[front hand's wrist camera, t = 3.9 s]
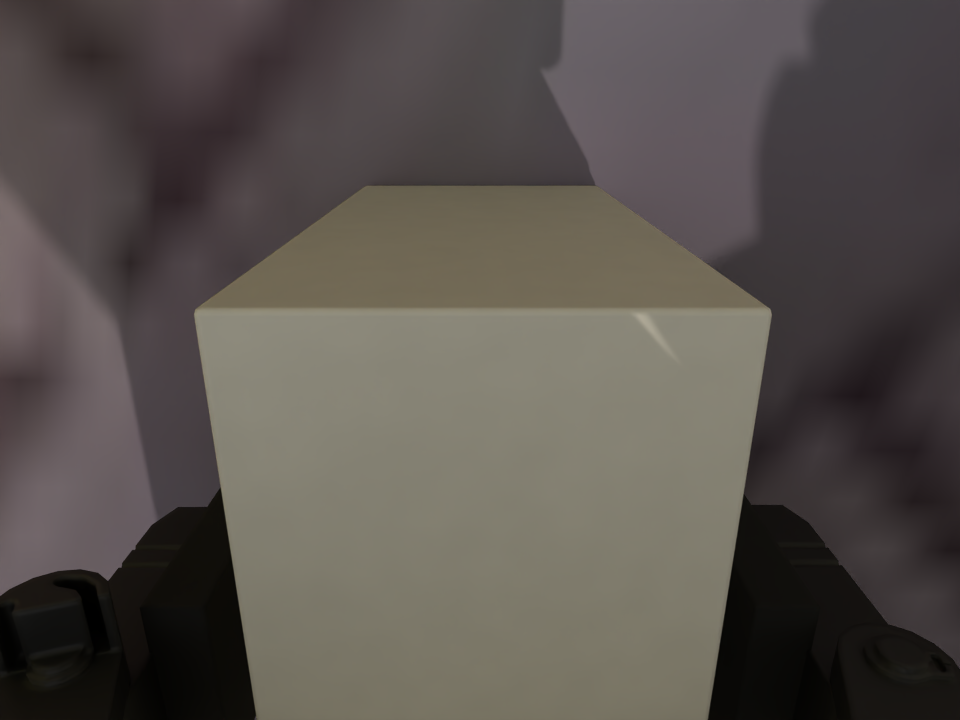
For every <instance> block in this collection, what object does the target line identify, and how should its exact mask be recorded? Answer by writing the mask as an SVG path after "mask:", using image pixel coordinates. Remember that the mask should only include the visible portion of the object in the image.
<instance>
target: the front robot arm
mask: <svg viewBox="0 0 960 720" xmlns="http://www.w3.org/2000/svg"><path fill="white" fill-rule="evenodd" d="M255 716H256V711H255V704H254V698H253V691H252V685H251V678H250V672H249V665H248V659H247V653H246V646H245V640H244V633H243V627H242V620H241V614H240V608H239V601H238V595H237V588H236V582H235V575H234V569H233V562H232V556H231V550H230V543H229V537H228V530H227V524H226V517H225V511H224V505H223V498H222V492H221V488H220V489H219V490H218V492H217V493H216V495H215V496H214V498H213V499H212V501H211V502H210V504H209V505H208V507H178V508H176V509H175V510H173V511H172V512H170V513H169V514H167V515H166V516H164V517H163V518H161V519H160V520H159V521H157V522H156V523H154V524H153V525H152V526H151V527H150V528H149V529H148V531H147V532H146V533H145V535H144V536H143V537H142V538H141V540H140V541H139V542H138V544H137V545H136V549H135V550H132V551H131V553H130V554H129V555H128V556H127V558H126V559H125V560H124V562H123V563H122V568H118V569H117V571H116V572H115V573H114V574H113V576H112V577H111V578H110V580H109V581H107V580H106V579H105V578H103V577H102V576H101V575H100V574H99V573H96V572H91V571H86V570H81V569H79V570H66V571H57V572H53V573H50V574H46V575H42V576H39V577H35V578H32V579H30V580H28V581H26V582H24V583H22V584H20V585H18V586H16V587H13V588H11V589H9V590H8V591H7V592H5V593H4V594H2V595H1V596H0V720H254V719H255ZM708 720H960V669H959V668H958V666H957V665H956V663H955V662H954V660H953V659H952V658H951V657H949V656H948V655H947V654H946V653H945V652H943V651H942V650H941V649H940V648H939V647H937V646H936V645H935V644H934V643H932V642H930V641H928V640H926V639H924V638H923V637H921V636H919V635H917V634H915V633H913V632H911V631H908V630H905V629H902V628H898V627H895V626H892V625H889V624H887V622H886V621H885V620H884V619H883V617H882V616H881V615H880V613H879V612H878V611H877V610H876V608H875V607H874V606H873V605H872V603H871V602H870V601H869V599H868V598H867V597H866V596H865V594H864V593H863V592H862V590H861V589H860V588H859V587H858V585H857V584H856V583H855V582H854V580H853V579H852V578H851V576H850V575H849V574H848V573H847V571H846V570H845V569H844V567H843V566H842V565H839V564H838V560H837V559H836V557H835V556H834V555H833V553H832V552H831V551H830V550H829V548H825V543H824V542H823V541H822V539H821V538H820V537H819V536H818V534H817V533H816V532H815V530H814V529H813V528H812V527H811V525H810V524H809V523H808V522H807V521H805V520H804V519H802V518H801V517H799V516H798V515H796V514H795V513H793V512H792V511H790V510H789V509H787V508H786V507H784V506H783V505H751V504H750V502H749V501H748V499H747V498H746V496H745V495H744V494H743V500H742V506H741V513H740V519H739V525H738V532H737V538H736V544H735V551H734V557H733V563H732V570H731V576H730V582H729V588H728V595H727V601H726V607H725V614H724V620H723V626H722V633H721V639H720V645H719V652H718V658H717V664H716V670H715V677H714V683H713V689H712V696H711V702H710V708H709V715H708Z"/></svg>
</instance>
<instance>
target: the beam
mask: <svg viewBox="0 0 960 720" xmlns="http://www.w3.org/2000/svg"><path fill="white" fill-rule="evenodd" d="M771 317H772V314H771V310H770V308H768V307H767V306H765V305H764V304H763V303H761V302H760V301H758V300H757V299H756V298H754V297H753V296H751V295H750V294H749V293H747V292H746V291H744V290H743V289H741V288H740V287H739V286H737V285H736V284H734V283H733V282H732V281H730V280H729V279H727V278H726V277H725V276H723V275H722V274H720V273H719V272H717V271H716V270H715V269H713V268H712V267H710V266H709V265H708V264H706V263H705V262H703V261H702V260H701V259H699V258H698V257H696V256H695V255H693V254H692V253H691V252H689V251H688V250H686V249H685V248H684V247H682V246H681V245H679V244H678V243H677V242H675V241H674V240H672V239H671V238H670V237H668V236H667V235H665V234H664V233H662V232H661V231H660V230H658V229H657V228H655V227H654V226H653V225H651V224H650V223H648V222H647V221H646V220H644V219H643V218H641V217H640V216H638V215H637V214H636V213H634V212H633V211H631V210H630V209H629V208H627V207H626V206H624V205H623V204H622V203H620V202H619V201H617V200H616V199H615V198H613V197H612V196H610V195H609V194H607V193H606V192H605V191H603V190H602V189H600V188H599V187H597V186H365V187H363V188H362V189H361V190H359V191H358V192H357V193H355V194H354V195H352V196H351V197H350V198H348V199H347V200H345V201H344V202H343V203H341V204H340V205H339V206H337V207H336V208H334V209H333V210H332V211H330V212H329V213H328V214H326V215H325V216H323V217H322V218H321V219H319V220H318V221H316V222H315V223H314V224H312V225H311V226H310V227H308V228H307V229H305V230H304V231H303V232H301V233H300V234H298V235H297V236H296V237H294V238H293V239H292V240H290V241H289V242H287V243H286V244H285V245H283V246H282V247H281V248H279V249H278V250H276V251H275V252H274V253H272V254H271V255H269V256H268V257H267V258H265V259H264V260H263V261H261V262H260V263H258V264H257V265H256V266H254V267H253V268H251V269H250V270H249V271H247V272H246V273H245V274H243V275H242V276H240V277H239V278H238V279H236V280H235V281H234V282H232V283H231V284H229V285H228V286H227V287H225V288H224V289H222V290H221V291H220V292H218V293H217V294H216V295H214V296H213V297H211V298H210V299H209V300H207V301H206V302H204V303H203V304H202V305H200V306H199V307H198V308H196V309H195V313H194V318H195V324H196V331H197V337H198V344H199V350H200V356H201V363H202V369H203V376H204V382H205V389H206V395H207V401H208V408H209V414H210V421H211V427H212V434H213V440H214V447H215V453H216V459H217V466H218V472H219V479H220V485H221V492H222V498H223V505H224V511H225V517H226V524H227V530H228V537H229V543H230V550H231V556H232V562H233V569H234V575H235V582H236V588H237V595H238V601H239V608H240V614H241V620H242V627H243V633H244V640H245V646H246V653H247V659H248V665H249V672H250V678H251V685H252V691H253V698H254V704H255V711H256V717H257V720H708V715H709V708H710V702H711V696H712V689H713V683H714V677H715V670H716V664H717V658H718V652H719V645H720V639H721V633H722V626H723V620H724V614H725V607H726V601H727V595H728V588H729V582H730V576H731V570H732V563H733V557H734V551H735V544H736V538H737V532H738V525H739V519H740V513H741V506H742V500H743V494H744V488H745V481H746V475H747V469H748V462H749V456H750V450H751V443H752V437H753V431H754V424H755V418H756V412H757V406H758V399H759V393H760V387H761V380H762V374H763V368H764V361H765V355H766V349H767V342H768V336H769V330H770V324H771Z"/></svg>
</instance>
